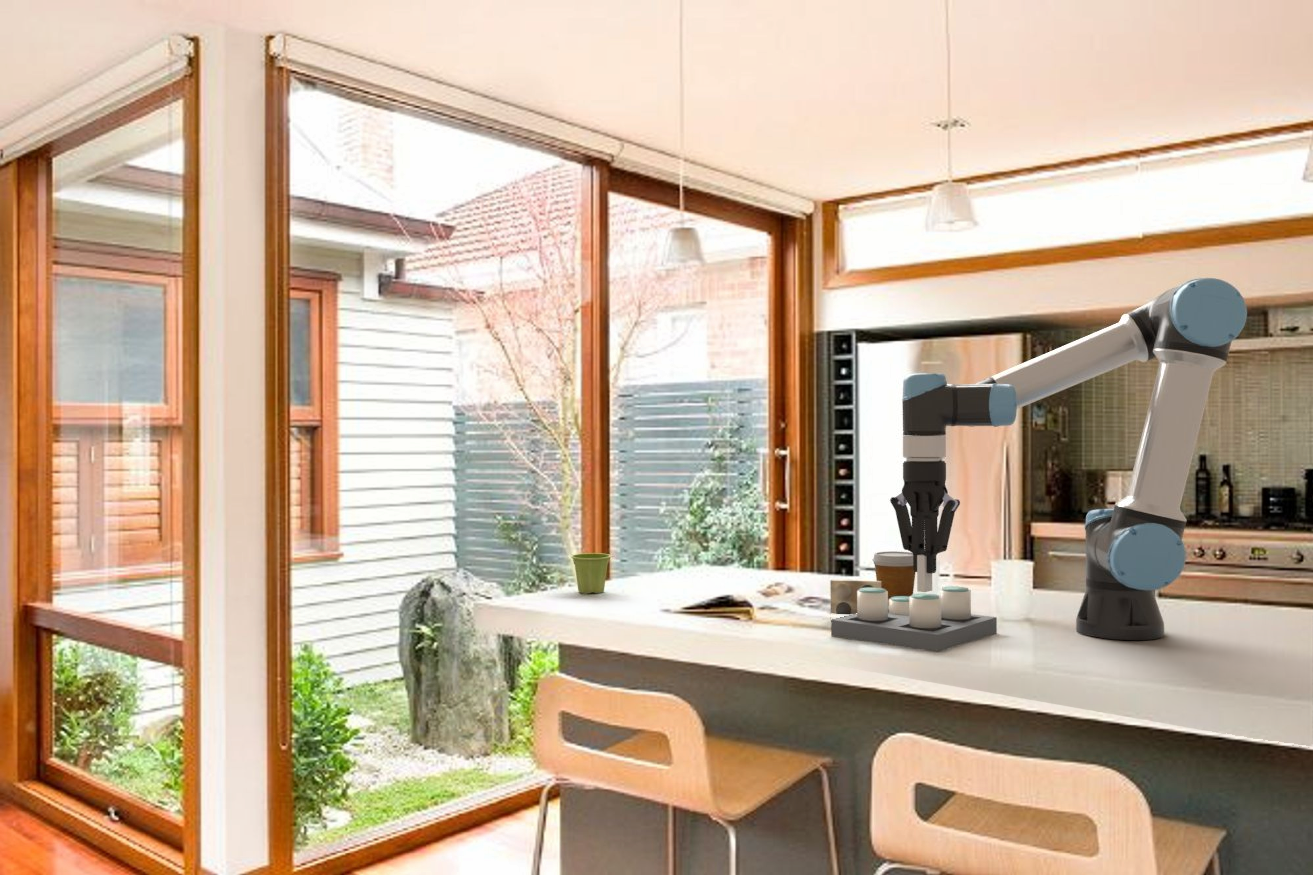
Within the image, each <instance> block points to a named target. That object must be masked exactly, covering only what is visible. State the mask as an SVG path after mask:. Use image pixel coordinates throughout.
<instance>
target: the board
mask: <svg viewBox="0 0 1313 875" xmlns="http://www.w3.org/2000/svg"><path fill="white" fill-rule="evenodd" d="M997 621H998V619H997V617H996V616H990V615H982V614H974V613H971V618H969V619H962V620H955V619H945V618H941V622H942V626H941V627H938V628H917V627H912V626H910V625H909V616H908V615H900V614H893V613H889V606H888V619H887V620H882V621H868V620H861V619H858V618H857V614H853V615H849V616H844V617H840V618H836V619H832V620H831V619H830V624H831V625H830V632H831V633H830V635H831V637H837V638H842V639H843V638H845V639H848V640H849V639H850V640H857V641H864V642H870V643H877V644H881V645H889V646H896V647H902V648H908V649H909V648H910V649H915V650H920V651H921V650H922V651H927V652H934V653H940V652H943V651H946V650H950V649H952V648H956V647H958V646H962V645H965V644H968V643H972V642H974V641H977V640H980V639H983V638H987V637H990V636H993V635H995V634H997V632H998V631H997V630H998V629H997V628H998V627H997V625H998V624H997V623H998V622H997Z"/></svg>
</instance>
